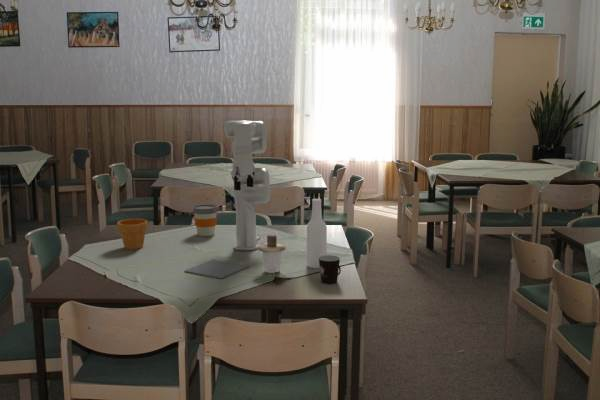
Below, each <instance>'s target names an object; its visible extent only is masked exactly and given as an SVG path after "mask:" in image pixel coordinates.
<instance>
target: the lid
mask: <svg viewBox="0 0 600 400" xmlns="http://www.w3.org/2000/svg"><path fill="white" fill-rule="evenodd" d="M277 237H278V236H277V235H276V234H268V235H266V242H263V243H260V244H259V243H258V244H259V245H258V249H257V250H258V251H260V252H262V253H263V252H280V251H281V252H283V251H285V250H286V249H287V245H286V244H285V243H282V242H277Z"/></svg>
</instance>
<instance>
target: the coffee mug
mask: <svg viewBox="0 0 600 400" xmlns="http://www.w3.org/2000/svg"><path fill="white" fill-rule="evenodd" d="M340 260H341V257H340V256H338V255H334V254H332V255H331V254H327V255H324V256H320V257H319V265H320V268H319V273H320V280H321V283H322V284H324V285H334V284H337V283H338V278H339V275H340V274H341V271H342V269H341V266H340V262H341V261H340Z"/></svg>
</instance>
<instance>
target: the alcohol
mask: <svg viewBox="0 0 600 400" xmlns="http://www.w3.org/2000/svg"><path fill="white" fill-rule="evenodd" d="M311 201H312V202H311V203H312V205H311V217H310V220H309V222H308V223H307V225H306V266H307V267H308V268H310V269H319V270H320V265H319V257H320V256H324V255H328V253H327V250H328V249H327V248H328V247H327V246H328V244H327V241H328V240H327V239H328V237H327V236H328V235H327V234H328V230H327V229H328V228H327V227H328V226H327V223H326V222H325V221H324V219H323V213H322V212H323V211H322V199H321V198H312V199H311Z"/></svg>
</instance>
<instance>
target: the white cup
mask: <svg viewBox="0 0 600 400" xmlns="http://www.w3.org/2000/svg"><path fill="white" fill-rule="evenodd" d="M262 255H263V256H262V257H263V270H264V272H265V273H267V272H268V274H276V273H275V272H277V273H279V272H281V264H282V263H281V261H282V251H280V252H262Z"/></svg>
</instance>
